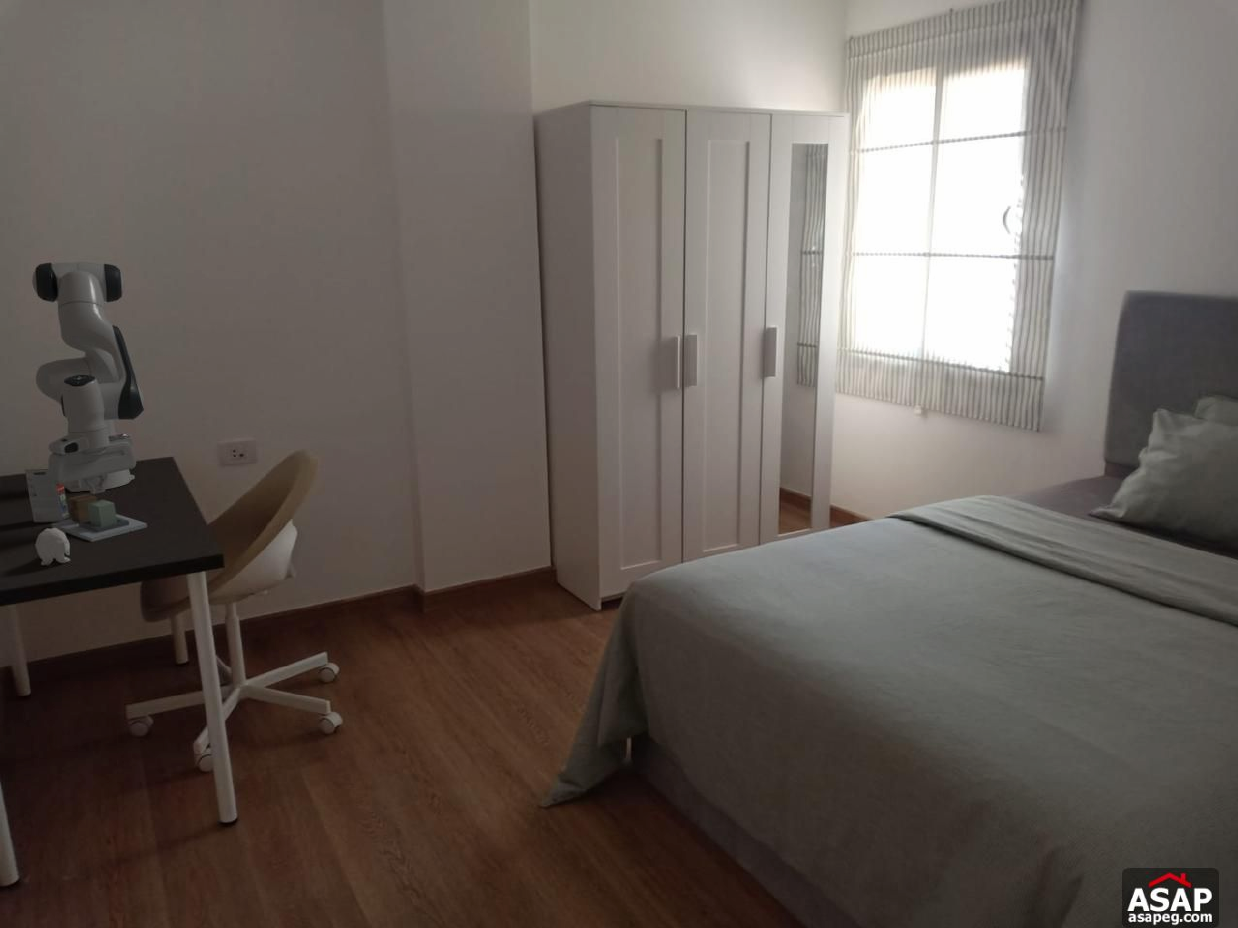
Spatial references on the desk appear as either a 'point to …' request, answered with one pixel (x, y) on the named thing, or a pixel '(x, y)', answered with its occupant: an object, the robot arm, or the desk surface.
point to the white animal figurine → (52, 546)
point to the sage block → (102, 513)
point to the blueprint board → (89, 532)
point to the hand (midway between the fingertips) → (97, 492)
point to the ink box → (46, 497)
